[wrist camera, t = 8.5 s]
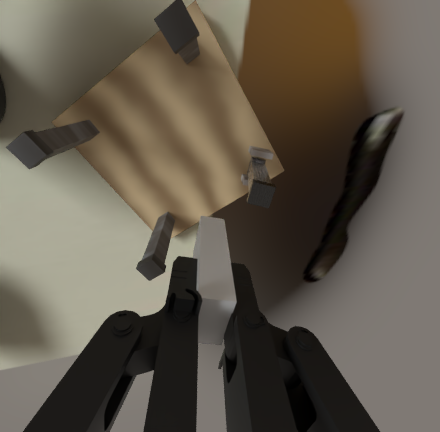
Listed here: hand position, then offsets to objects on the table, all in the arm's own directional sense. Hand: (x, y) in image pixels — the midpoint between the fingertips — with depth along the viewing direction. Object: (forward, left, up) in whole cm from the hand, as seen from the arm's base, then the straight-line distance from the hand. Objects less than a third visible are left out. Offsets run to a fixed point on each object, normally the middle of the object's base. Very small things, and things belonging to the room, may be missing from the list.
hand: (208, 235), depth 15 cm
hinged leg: (+4, -4, -16) cm, 17 cm away
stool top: (-3, +3, -26) cm, 26 cm away
